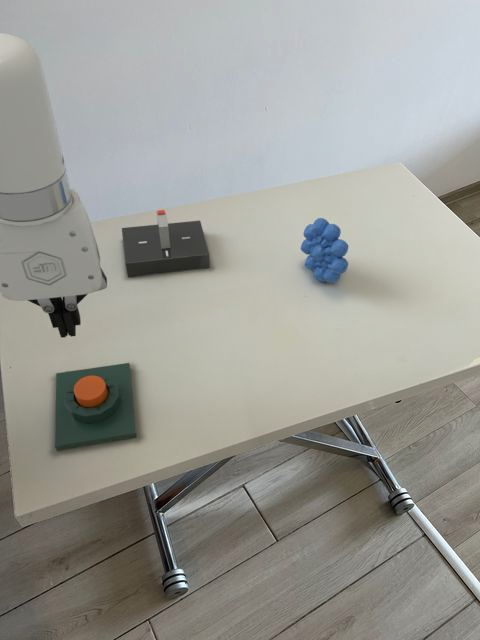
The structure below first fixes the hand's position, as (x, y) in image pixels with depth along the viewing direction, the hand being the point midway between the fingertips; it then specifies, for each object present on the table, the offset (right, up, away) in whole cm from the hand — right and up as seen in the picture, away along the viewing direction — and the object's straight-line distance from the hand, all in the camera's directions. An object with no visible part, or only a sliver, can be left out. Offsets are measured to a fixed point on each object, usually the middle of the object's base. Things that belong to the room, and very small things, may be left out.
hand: (68, 328), depth 62 cm
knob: (+6, +16, +29) cm, 34 cm away
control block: (0, -10, +10) cm, 14 cm away
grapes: (+33, +10, +30) cm, 46 cm away
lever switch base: (+6, +14, +32) cm, 35 cm away
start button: (0, -9, +8) cm, 12 cm away
